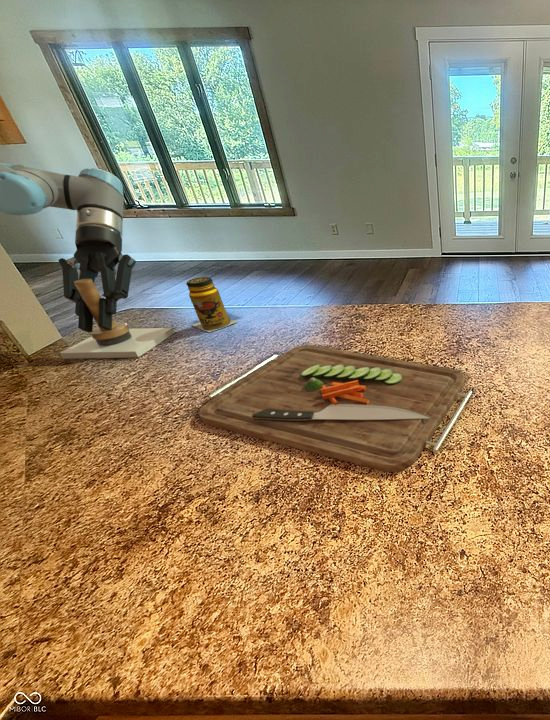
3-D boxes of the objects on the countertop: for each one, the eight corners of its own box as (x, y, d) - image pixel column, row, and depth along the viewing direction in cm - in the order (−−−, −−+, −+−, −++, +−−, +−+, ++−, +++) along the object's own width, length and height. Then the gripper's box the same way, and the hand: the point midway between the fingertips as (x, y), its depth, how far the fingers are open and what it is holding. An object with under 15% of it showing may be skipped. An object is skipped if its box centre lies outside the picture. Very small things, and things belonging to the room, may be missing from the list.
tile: (63, 358, 82) (59, 352, 82) (108, 334, 93) (105, 328, 92) (138, 357, 83) (135, 351, 82) (174, 333, 93) (172, 327, 93)
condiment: (209, 333, 93) (190, 286, 87) (191, 325, 97) (172, 280, 91) (238, 322, 99) (222, 277, 93) (220, 315, 102) (204, 272, 96)
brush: (88, 346, 84) (52, 285, 77) (112, 333, 90) (81, 276, 83) (117, 346, 84) (84, 285, 77) (139, 333, 90) (110, 275, 83)
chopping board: (481, 379, 74) (481, 366, 73) (421, 481, 52) (420, 465, 51) (294, 347, 87) (290, 334, 85) (182, 417, 65) (174, 403, 63)
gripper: (42, 225, 82) (33, 327, 76) (129, 221, 85) (126, 318, 80) (71, 245, 89) (65, 339, 83) (150, 240, 92) (149, 330, 87)
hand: (95, 328), depth 82 cm, fingers closed on brush, 3 cm apart
